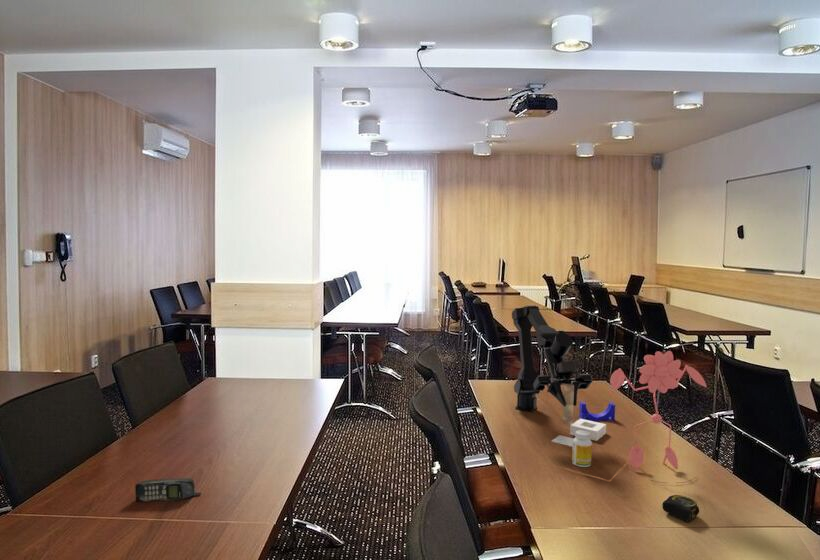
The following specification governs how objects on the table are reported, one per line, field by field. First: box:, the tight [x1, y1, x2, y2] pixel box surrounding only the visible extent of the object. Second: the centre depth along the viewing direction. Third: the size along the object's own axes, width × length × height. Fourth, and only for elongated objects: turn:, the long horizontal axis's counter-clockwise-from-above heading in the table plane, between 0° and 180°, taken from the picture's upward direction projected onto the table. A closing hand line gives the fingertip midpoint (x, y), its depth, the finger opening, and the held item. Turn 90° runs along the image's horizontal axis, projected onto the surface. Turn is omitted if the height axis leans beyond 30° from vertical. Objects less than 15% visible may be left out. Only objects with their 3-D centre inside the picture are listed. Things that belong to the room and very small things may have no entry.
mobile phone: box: [134, 477, 202, 503], centre depth 136 cm, size 5×3×15 cm
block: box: [569, 418, 607, 442], centre depth 183 cm, size 9×9×4 cm
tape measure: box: [661, 494, 700, 523], centre depth 130 cm, size 7×7×4 cm
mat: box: [550, 434, 574, 447], centre depth 176 cm, size 8×7×1 cm
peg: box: [562, 384, 574, 426], centre depth 175 cm, size 3×3×12 cm
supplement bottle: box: [571, 430, 593, 468], centre depth 158 cm, size 5×5×10 cm
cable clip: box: [578, 401, 616, 423], centre depth 198 cm, size 12×4×6 cm, turn 87°
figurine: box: [609, 350, 707, 484], centre depth 152 cm, size 15×26×35 cm, turn 89°
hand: (570, 405), depth 174 cm, fingers closed on peg, 3 cm apart
